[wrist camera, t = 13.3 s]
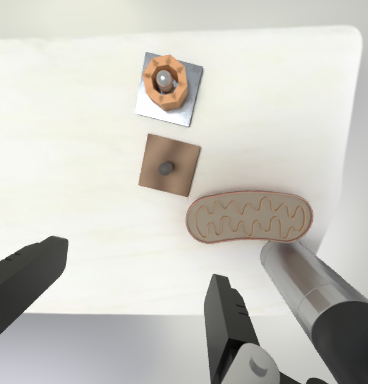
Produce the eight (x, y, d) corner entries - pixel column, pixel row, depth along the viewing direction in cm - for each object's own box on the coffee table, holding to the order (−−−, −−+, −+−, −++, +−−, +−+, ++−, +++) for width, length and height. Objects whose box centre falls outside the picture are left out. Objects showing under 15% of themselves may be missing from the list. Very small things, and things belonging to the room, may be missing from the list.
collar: (183, 67, 32) (182, 52, 27) (189, 106, 33) (189, 99, 29) (147, 73, 32) (139, 60, 28) (154, 112, 34) (148, 106, 29)
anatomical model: (186, 233, 40) (186, 244, 35) (185, 187, 38) (184, 193, 33) (295, 231, 39) (310, 242, 34) (300, 184, 37) (317, 189, 32)
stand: (200, 146, 36) (202, 145, 29) (187, 195, 38) (187, 205, 31) (149, 134, 36) (139, 130, 29) (139, 184, 38) (128, 191, 31)
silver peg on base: (202, 69, 33) (206, 46, 26) (188, 127, 35) (188, 121, 28) (147, 54, 33) (135, 27, 26) (136, 113, 35) (123, 104, 28)
